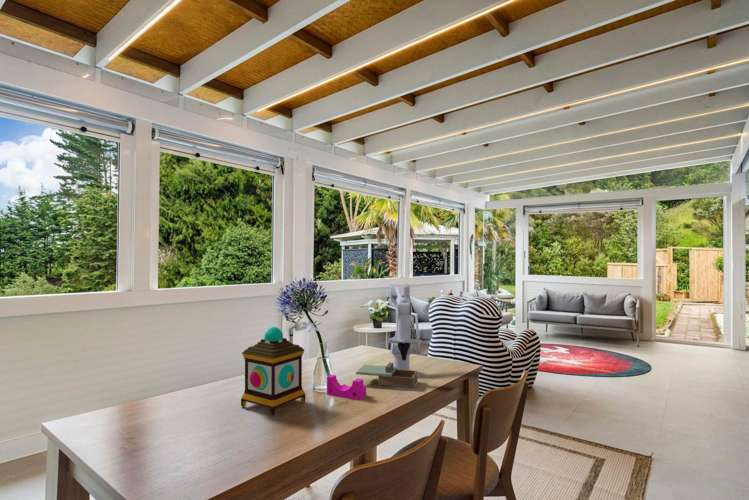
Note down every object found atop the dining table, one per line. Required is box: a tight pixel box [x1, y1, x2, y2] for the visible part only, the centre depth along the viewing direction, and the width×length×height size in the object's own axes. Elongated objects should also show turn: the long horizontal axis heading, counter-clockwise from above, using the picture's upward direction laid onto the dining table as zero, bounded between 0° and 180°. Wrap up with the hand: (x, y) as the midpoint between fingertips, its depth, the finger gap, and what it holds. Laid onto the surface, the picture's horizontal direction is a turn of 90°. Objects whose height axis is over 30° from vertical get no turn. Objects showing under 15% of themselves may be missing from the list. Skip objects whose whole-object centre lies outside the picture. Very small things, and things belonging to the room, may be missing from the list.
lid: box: [355, 362, 397, 377], centre depth 190 cm, size 13×16×3 cm
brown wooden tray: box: [378, 369, 418, 391], centre depth 188 cm, size 12×15×5 cm
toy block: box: [326, 374, 367, 401], centre depth 174 cm, size 15×6×8 cm, turn 63°
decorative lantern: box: [240, 326, 306, 417], centre depth 163 cm, size 20×20×30 cm
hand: (404, 359), depth 190 cm, fingers closed
